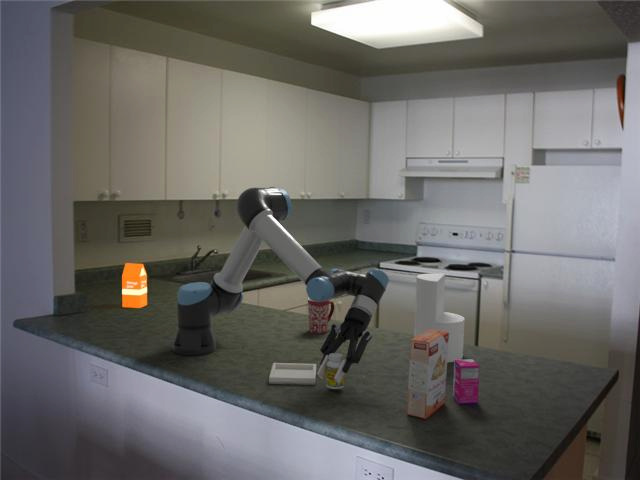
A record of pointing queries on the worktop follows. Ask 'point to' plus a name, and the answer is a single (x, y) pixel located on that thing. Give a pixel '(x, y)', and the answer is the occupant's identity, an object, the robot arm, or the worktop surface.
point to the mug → (319, 315)
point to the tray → (293, 374)
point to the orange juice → (134, 286)
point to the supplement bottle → (334, 371)
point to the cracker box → (427, 373)
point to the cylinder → (437, 313)
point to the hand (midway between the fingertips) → (328, 378)
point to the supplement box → (466, 382)
